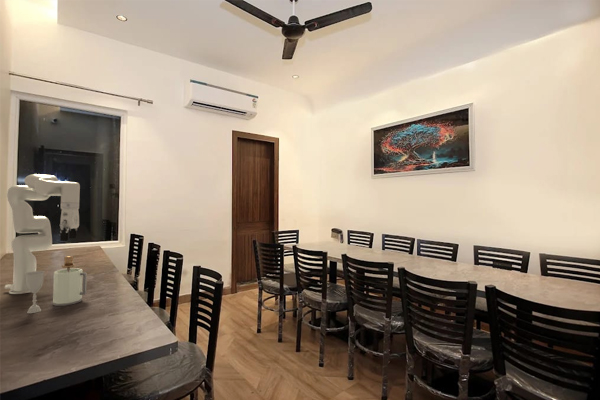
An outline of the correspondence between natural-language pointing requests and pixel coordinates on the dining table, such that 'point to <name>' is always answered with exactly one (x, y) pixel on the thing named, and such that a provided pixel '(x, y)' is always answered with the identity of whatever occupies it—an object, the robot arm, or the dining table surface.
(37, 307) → the chalice
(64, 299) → the press carafe
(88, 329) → the dining table surface
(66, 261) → the plunger
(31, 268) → the robot arm
